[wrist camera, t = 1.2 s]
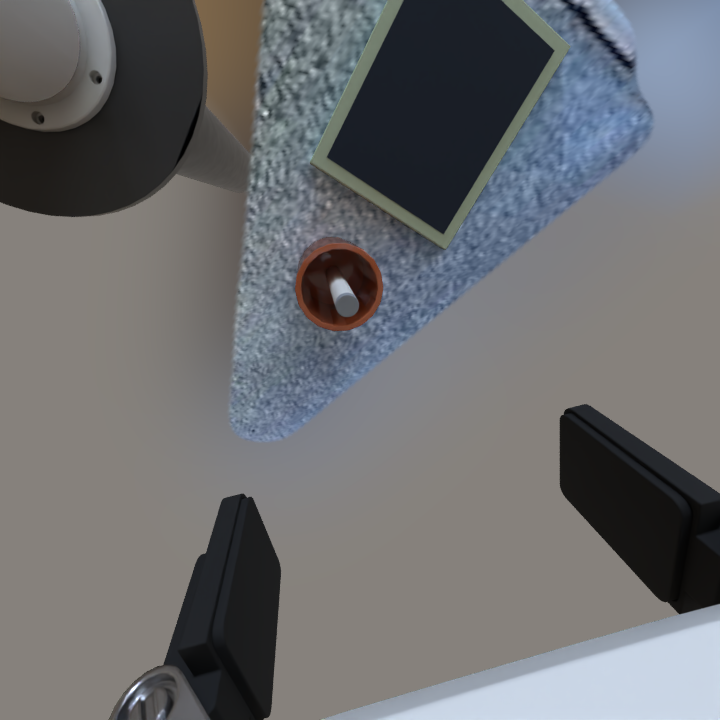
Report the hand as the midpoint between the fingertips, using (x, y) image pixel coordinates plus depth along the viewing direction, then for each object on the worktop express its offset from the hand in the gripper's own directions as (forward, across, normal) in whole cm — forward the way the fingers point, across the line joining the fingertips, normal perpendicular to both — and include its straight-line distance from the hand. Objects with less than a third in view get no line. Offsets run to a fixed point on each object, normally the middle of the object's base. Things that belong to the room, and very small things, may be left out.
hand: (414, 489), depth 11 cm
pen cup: (+27, 0, -2) cm, 27 cm away
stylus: (+26, 0, -2) cm, 26 cm away
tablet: (+27, -11, -14) cm, 32 cm away
